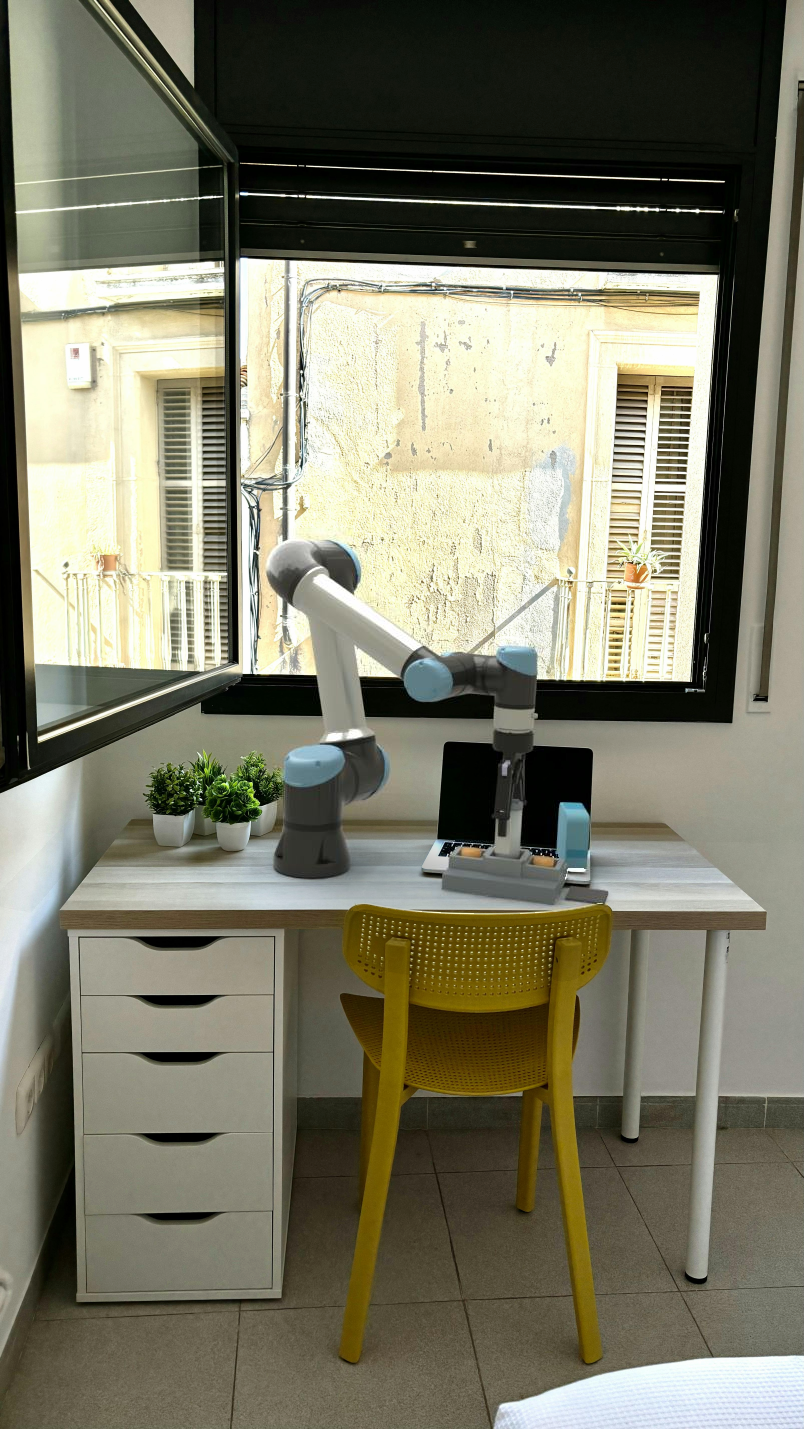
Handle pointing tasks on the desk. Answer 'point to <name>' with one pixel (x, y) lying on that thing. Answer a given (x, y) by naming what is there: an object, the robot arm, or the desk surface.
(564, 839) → the data package
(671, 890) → the desk surface
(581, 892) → the mat
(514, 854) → the cylinder
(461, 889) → the housing
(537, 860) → the plunger right
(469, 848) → the plunger left
